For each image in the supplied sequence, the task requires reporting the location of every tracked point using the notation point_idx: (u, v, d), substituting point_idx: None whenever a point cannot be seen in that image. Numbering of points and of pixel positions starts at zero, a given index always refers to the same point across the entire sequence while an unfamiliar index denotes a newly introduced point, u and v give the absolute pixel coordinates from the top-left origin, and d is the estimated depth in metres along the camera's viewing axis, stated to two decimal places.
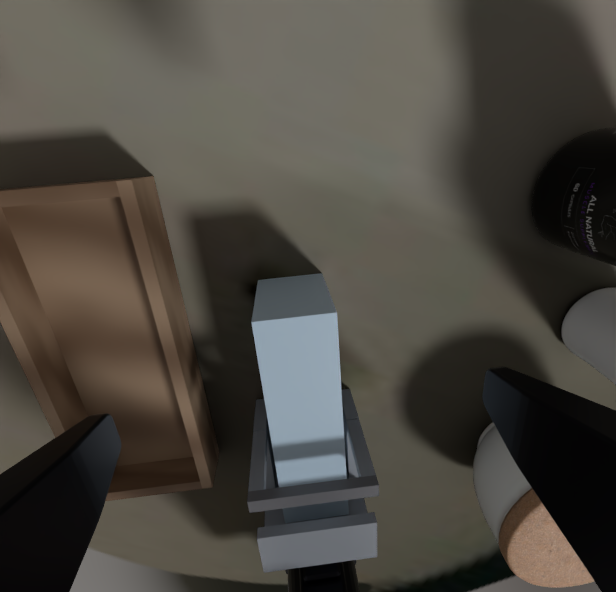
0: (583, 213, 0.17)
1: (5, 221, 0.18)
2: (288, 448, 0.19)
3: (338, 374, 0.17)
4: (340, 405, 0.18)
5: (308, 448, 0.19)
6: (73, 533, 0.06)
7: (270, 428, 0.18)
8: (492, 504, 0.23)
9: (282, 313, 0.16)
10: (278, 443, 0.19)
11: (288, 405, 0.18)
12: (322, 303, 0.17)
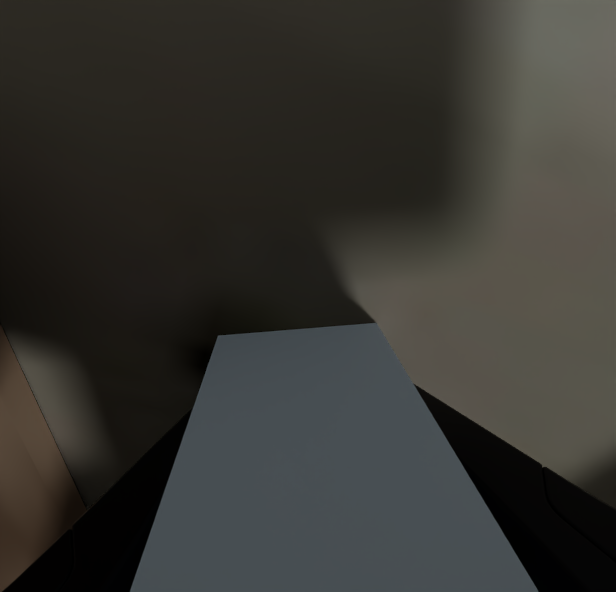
0: None
1: None
2: None
3: None
4: None
5: None
6: None
7: None
8: None
9: (272, 573, 0.04)
10: None
11: None
12: (436, 494, 0.04)
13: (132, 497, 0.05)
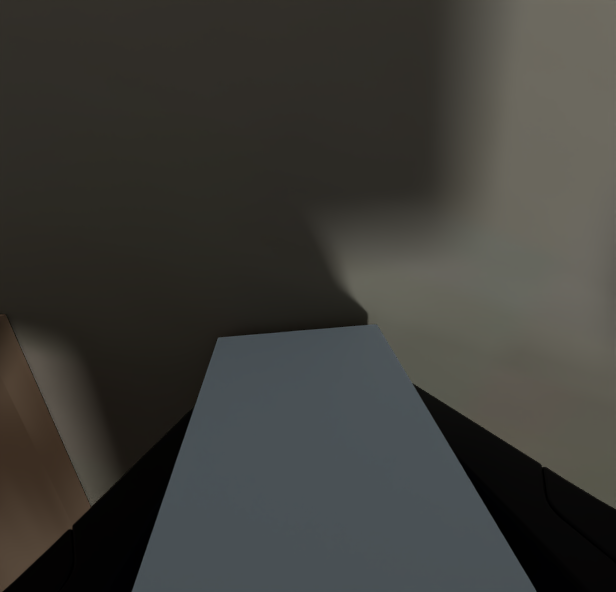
0: None
1: None
2: None
3: None
4: None
5: None
6: None
7: None
8: None
9: (273, 579, 0.04)
10: None
11: None
12: (437, 497, 0.04)
13: (132, 497, 0.05)
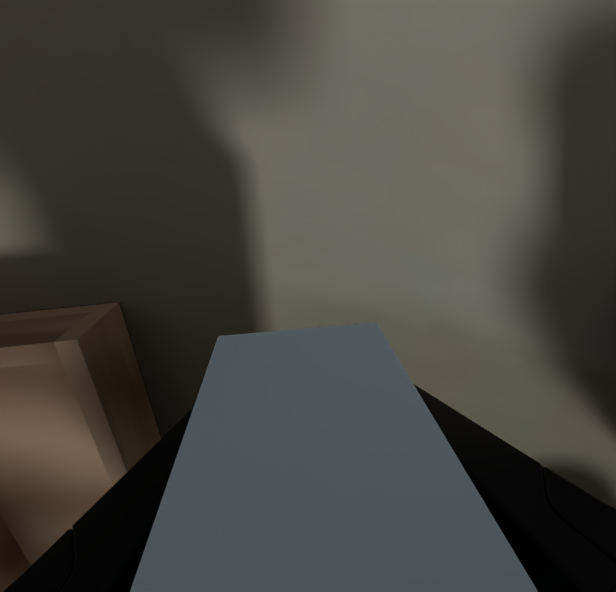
0: None
1: None
2: None
3: None
4: None
5: None
6: None
7: None
8: None
9: (272, 573, 0.04)
10: None
11: None
12: (436, 493, 0.04)
13: (133, 497, 0.05)
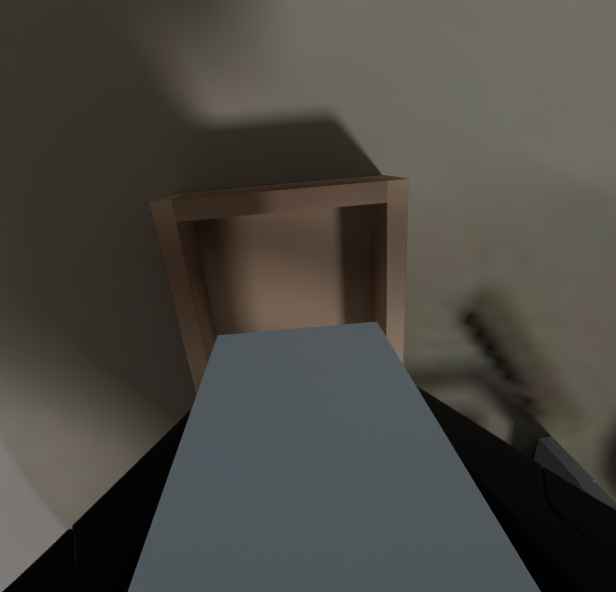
0: None
1: (195, 235, 0.13)
2: None
3: None
4: None
5: None
6: None
7: None
8: None
9: (270, 575, 0.04)
10: None
11: None
12: (438, 494, 0.04)
13: (133, 497, 0.05)
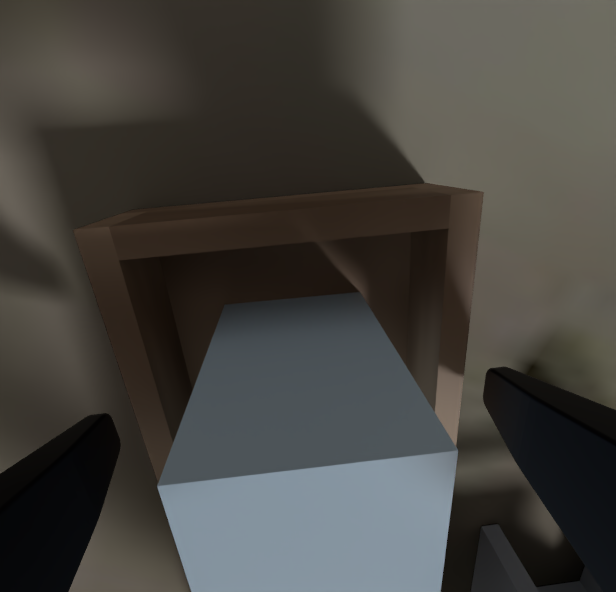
0: None
1: (161, 270, 0.09)
2: None
3: None
4: None
5: None
6: (72, 533, 0.06)
7: None
8: None
9: (269, 440, 0.05)
10: None
11: None
12: (392, 396, 0.06)
13: None
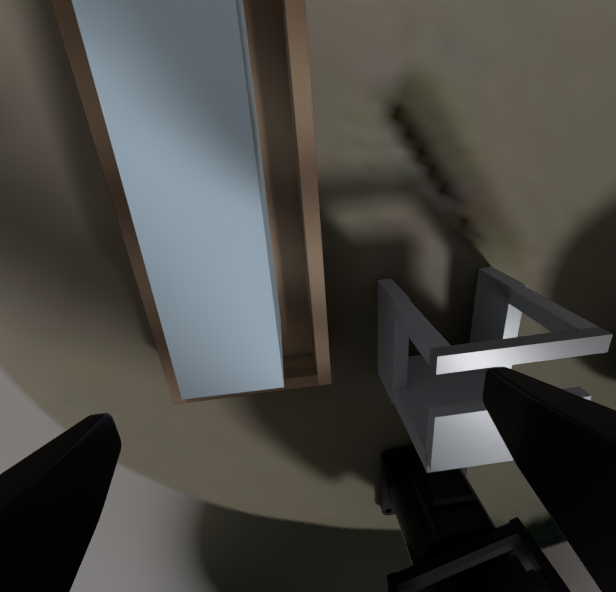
0: None
1: None
2: (168, 247, 0.11)
3: (241, 79, 0.09)
4: (251, 155, 0.10)
5: (203, 251, 0.11)
6: (73, 533, 0.06)
7: (129, 199, 0.10)
8: None
9: None
10: (148, 234, 0.11)
11: (156, 148, 0.10)
12: None
13: None
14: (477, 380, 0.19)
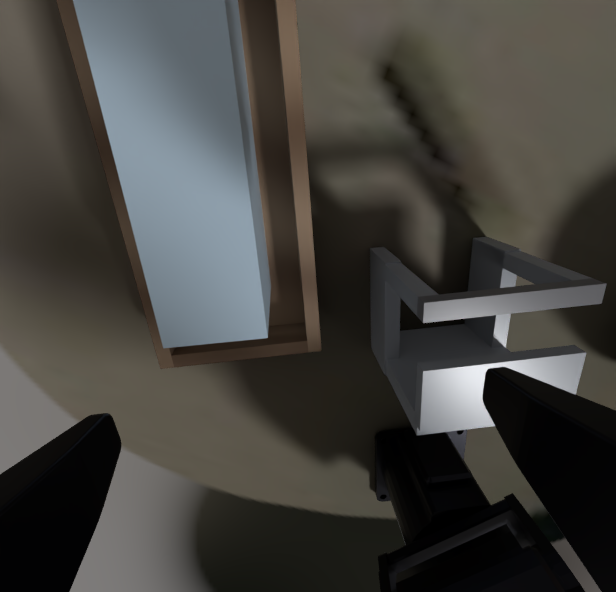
0: None
1: None
2: (148, 180, 0.11)
3: (220, 1, 0.09)
4: (231, 83, 0.10)
5: (183, 185, 0.11)
6: (73, 533, 0.06)
7: (108, 128, 0.10)
8: None
9: None
10: (128, 166, 0.11)
11: (135, 73, 0.10)
12: None
13: None
14: (472, 350, 0.19)
